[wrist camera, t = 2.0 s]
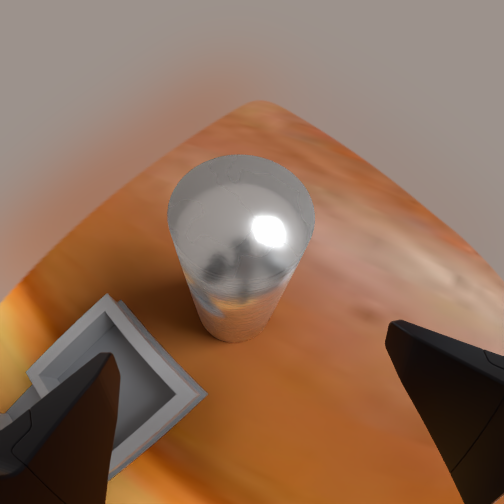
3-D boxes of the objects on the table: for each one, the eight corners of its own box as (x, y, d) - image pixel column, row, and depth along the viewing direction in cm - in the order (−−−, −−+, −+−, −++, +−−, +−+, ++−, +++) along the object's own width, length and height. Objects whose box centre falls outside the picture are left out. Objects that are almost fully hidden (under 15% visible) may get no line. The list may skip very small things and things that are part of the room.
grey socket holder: (32, 535, 10) (11, 546, 7) (-26, 454, 12) (-51, 455, 9) (208, 394, 18) (204, 394, 15) (125, 303, 20) (108, 287, 17)
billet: (269, 344, 20) (318, 283, 9) (195, 339, 20) (154, 271, 9) (271, 276, 22) (310, 161, 11) (202, 271, 22) (181, 151, 11)
